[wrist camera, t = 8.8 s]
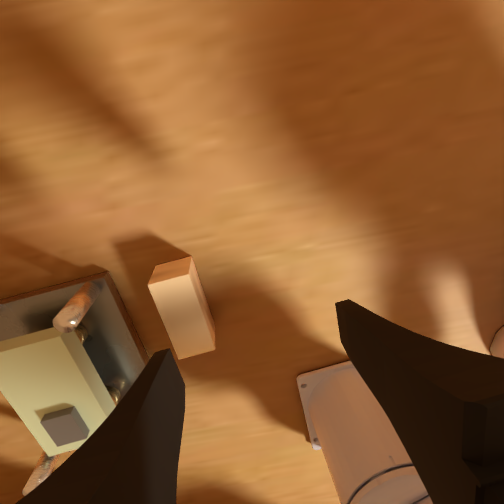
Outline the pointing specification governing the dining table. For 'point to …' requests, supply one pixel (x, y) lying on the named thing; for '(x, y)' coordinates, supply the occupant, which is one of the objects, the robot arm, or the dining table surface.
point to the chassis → (80, 335)
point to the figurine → (498, 344)
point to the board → (53, 388)
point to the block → (183, 307)
